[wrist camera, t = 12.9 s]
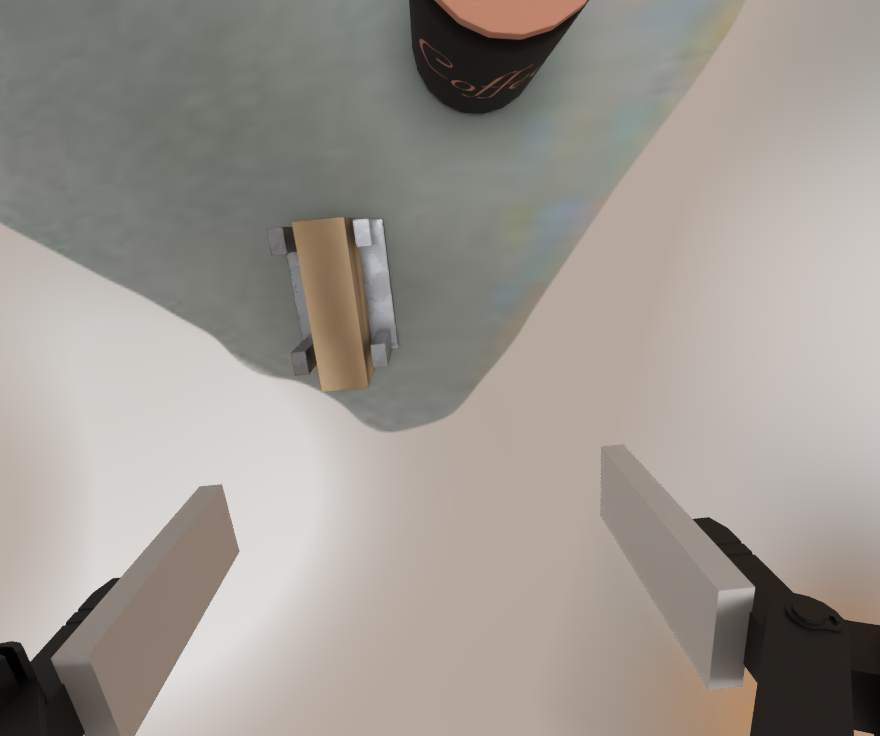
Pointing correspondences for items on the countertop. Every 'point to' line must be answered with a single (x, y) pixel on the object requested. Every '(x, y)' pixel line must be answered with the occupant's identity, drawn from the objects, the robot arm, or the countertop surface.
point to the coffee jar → (485, 46)
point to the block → (335, 302)
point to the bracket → (375, 287)
